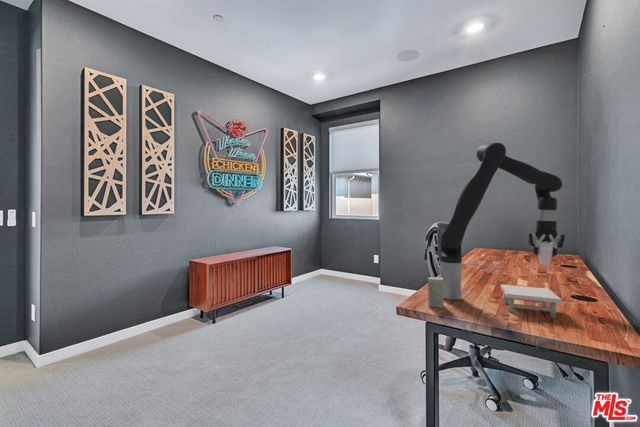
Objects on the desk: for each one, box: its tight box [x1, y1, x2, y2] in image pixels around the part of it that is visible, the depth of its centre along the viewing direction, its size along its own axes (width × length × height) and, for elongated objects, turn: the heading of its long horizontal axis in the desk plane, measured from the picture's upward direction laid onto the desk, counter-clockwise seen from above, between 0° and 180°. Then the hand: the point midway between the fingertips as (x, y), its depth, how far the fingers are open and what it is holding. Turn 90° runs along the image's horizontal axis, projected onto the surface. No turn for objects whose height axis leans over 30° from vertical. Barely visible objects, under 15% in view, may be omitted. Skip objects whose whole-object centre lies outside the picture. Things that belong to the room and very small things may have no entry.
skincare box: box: [427, 276, 445, 309], centre depth 132 cm, size 6×4×12 cm
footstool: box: [500, 284, 562, 319], centre depth 127 cm, size 18×16×8 cm
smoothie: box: [538, 241, 554, 266], centre depth 141 cm, size 6×6×14 cm
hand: (544, 255), depth 141 cm, fingers closed on smoothie, 6 cm apart
